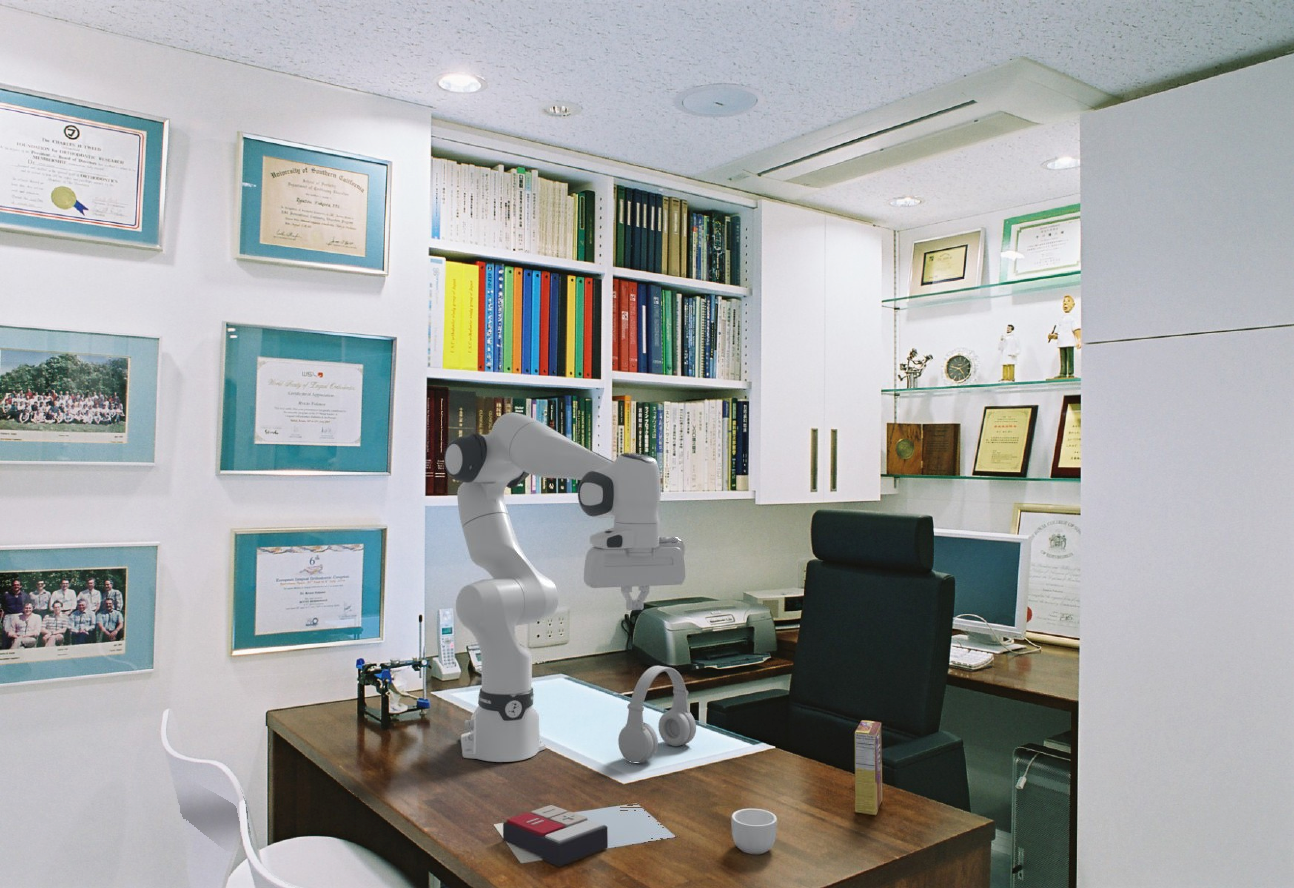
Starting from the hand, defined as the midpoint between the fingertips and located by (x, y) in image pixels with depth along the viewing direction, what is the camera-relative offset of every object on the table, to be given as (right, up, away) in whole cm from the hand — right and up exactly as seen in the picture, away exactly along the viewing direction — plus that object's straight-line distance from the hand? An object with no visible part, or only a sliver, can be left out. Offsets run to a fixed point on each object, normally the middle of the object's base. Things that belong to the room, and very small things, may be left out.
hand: (634, 609), depth 176 cm
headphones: (+5, -38, +30) cm, 49 cm away
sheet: (-9, -36, -14) cm, 40 cm away
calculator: (-13, -36, -20) cm, 44 cm away
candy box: (+45, -38, 0) cm, 59 cm away
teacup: (+21, -37, -19) cm, 47 cm away
